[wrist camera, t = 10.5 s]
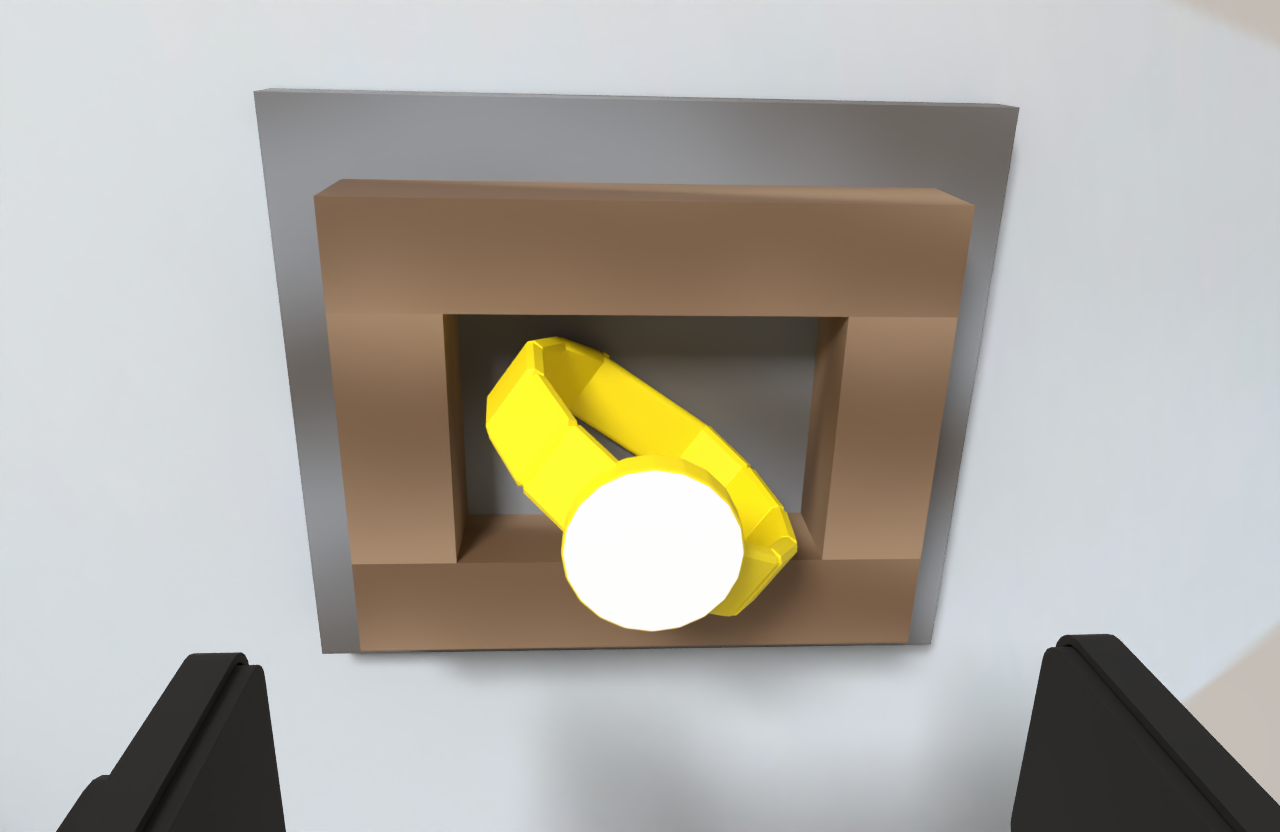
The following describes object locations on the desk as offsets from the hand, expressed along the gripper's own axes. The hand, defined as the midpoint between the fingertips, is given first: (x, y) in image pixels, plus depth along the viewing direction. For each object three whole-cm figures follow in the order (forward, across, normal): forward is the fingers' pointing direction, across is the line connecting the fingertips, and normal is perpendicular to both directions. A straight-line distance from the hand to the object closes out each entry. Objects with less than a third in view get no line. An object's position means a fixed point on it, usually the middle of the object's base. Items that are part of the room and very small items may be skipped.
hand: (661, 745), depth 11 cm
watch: (+9, 0, -1) cm, 9 cm away
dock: (+10, 0, -1) cm, 10 cm away
